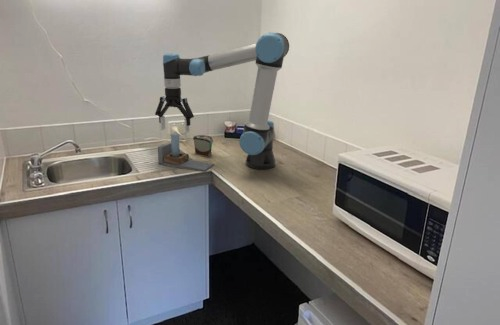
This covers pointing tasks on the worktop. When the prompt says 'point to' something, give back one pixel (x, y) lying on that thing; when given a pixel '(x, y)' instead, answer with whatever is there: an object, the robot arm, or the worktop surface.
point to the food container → (203, 145)
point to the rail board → (188, 164)
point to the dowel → (175, 145)
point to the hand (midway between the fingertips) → (175, 130)
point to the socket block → (176, 158)
